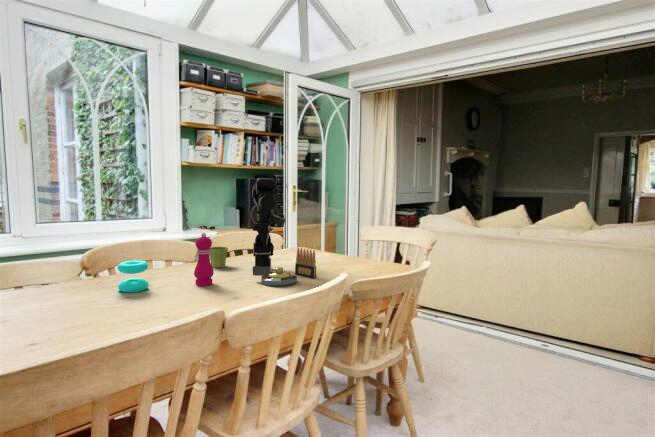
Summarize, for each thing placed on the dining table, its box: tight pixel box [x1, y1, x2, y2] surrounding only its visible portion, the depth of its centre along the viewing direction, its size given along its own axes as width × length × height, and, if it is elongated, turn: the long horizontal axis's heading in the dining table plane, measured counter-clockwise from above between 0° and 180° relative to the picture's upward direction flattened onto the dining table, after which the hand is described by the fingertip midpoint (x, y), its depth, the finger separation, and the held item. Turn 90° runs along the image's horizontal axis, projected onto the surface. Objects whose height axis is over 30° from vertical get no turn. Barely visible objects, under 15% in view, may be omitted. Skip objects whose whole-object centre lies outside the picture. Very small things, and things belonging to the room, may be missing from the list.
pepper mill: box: [193, 232, 215, 287], centre depth 157 cm, size 7×7×20 cm
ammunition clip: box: [294, 247, 317, 280], centre depth 173 cm, size 11×2×12 cm, turn 52°
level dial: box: [252, 265, 291, 279], centre depth 162 cm, size 15×9×4 cm, turn 85°
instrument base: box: [260, 274, 298, 288], centre depth 163 cm, size 14×14×3 cm
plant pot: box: [209, 246, 229, 269], centre depth 188 cm, size 9×9×9 cm
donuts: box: [117, 259, 149, 293], centre depth 148 cm, size 10×10×10 cm
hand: (265, 245), depth 172 cm, fingers closed
